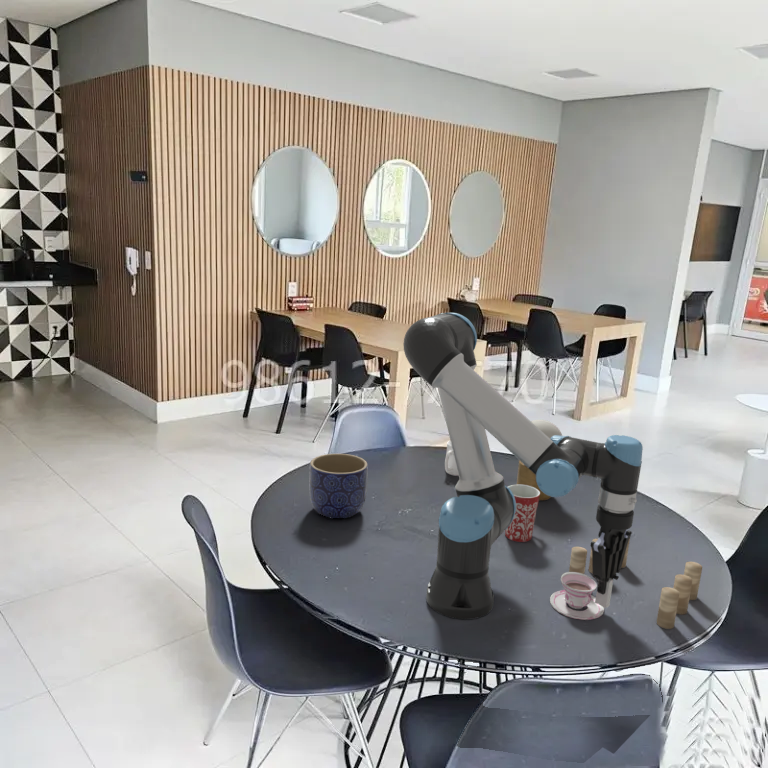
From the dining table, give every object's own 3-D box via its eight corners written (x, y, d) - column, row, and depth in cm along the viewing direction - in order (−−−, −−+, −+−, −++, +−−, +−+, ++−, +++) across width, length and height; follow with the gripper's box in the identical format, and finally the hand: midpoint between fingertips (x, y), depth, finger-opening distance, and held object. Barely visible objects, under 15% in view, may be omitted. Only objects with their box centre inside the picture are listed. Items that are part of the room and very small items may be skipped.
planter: (374, 520, 195) (376, 470, 192) (317, 527, 189) (319, 476, 186) (354, 497, 210) (356, 451, 207) (301, 503, 204) (302, 455, 201)
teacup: (539, 595, 161) (542, 571, 160) (584, 589, 165) (587, 565, 163) (567, 624, 150) (570, 598, 149) (614, 617, 154) (618, 592, 152)
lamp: (558, 508, 210) (568, 429, 204) (511, 503, 212) (519, 425, 206) (554, 489, 224) (563, 415, 218) (510, 484, 226) (518, 411, 220)
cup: (474, 471, 236) (476, 443, 234) (454, 481, 227) (457, 452, 224) (453, 465, 241) (455, 438, 239) (434, 474, 232) (436, 445, 229)
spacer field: (668, 631, 149) (674, 597, 147) (565, 579, 168) (568, 549, 166) (710, 601, 162) (715, 570, 160) (609, 556, 181) (613, 528, 179)
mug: (522, 547, 184) (527, 500, 180) (495, 535, 190) (499, 489, 187) (548, 533, 192) (553, 488, 189) (521, 522, 199) (526, 478, 195)
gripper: (615, 520, 142) (600, 622, 148) (647, 505, 151) (632, 602, 156) (583, 508, 148) (571, 606, 154) (616, 494, 156) (603, 588, 162)
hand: (602, 604), depth 155 cm, fingers closed
